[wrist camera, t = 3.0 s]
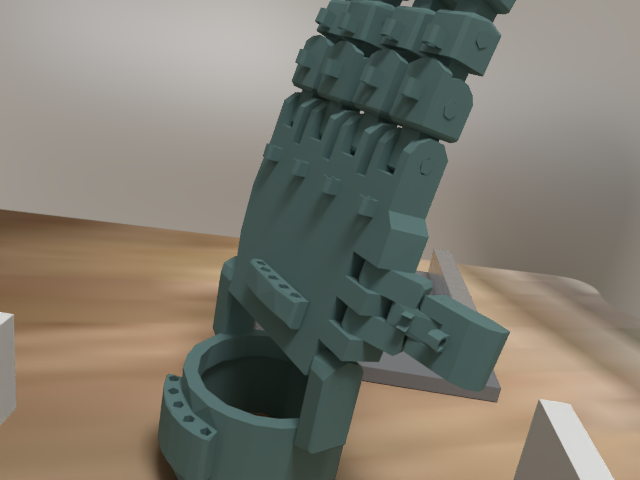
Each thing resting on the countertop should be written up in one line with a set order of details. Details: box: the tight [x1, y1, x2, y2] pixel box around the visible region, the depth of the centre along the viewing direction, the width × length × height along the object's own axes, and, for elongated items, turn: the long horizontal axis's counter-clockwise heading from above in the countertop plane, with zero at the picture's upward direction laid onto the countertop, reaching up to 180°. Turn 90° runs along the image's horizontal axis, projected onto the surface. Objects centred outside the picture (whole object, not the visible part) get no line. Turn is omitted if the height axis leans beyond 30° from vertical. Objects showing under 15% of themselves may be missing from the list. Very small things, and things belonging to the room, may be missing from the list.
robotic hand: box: [158, 0, 516, 480], centre depth 25 cm, size 14×10×25 cm
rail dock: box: [254, 249, 501, 402], centre depth 45 cm, size 18×18×4 cm
